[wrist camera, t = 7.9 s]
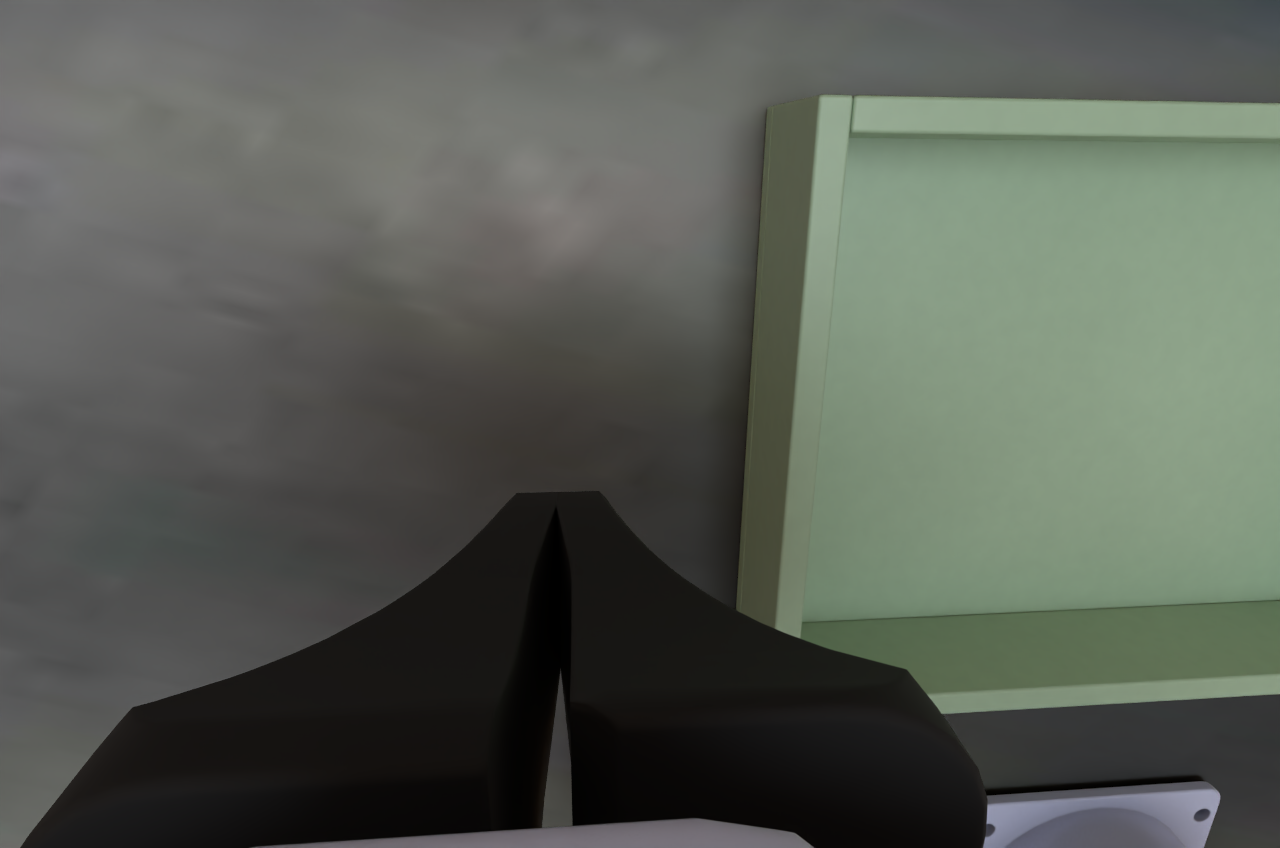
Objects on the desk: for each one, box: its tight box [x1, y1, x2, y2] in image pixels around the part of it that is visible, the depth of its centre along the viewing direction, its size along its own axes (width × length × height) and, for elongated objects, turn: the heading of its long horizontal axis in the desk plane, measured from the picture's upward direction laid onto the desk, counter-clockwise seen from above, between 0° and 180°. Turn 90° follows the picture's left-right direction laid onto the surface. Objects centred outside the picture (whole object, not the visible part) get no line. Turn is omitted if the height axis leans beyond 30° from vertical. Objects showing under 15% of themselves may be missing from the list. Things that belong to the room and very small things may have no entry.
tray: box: [736, 94, 1280, 714], centre depth 17 cm, size 13×17×4 cm
